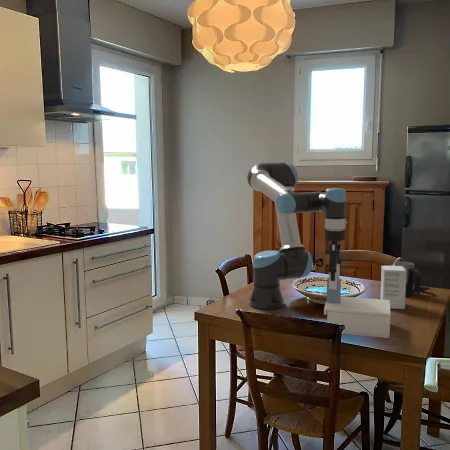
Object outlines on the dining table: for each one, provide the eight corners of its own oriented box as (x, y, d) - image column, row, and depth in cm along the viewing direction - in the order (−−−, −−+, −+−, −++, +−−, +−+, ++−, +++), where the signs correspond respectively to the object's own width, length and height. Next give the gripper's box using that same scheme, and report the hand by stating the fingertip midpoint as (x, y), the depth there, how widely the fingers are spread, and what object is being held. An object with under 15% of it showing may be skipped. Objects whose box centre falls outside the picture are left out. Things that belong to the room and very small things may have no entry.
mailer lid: (324, 314, 175) (324, 284, 173) (328, 301, 190) (328, 273, 188) (390, 320, 167) (391, 289, 166) (389, 306, 183) (390, 277, 181)
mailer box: (327, 331, 175) (327, 311, 174) (331, 317, 190) (331, 298, 189) (389, 338, 169) (390, 316, 167) (388, 322, 184) (389, 303, 182)
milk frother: (388, 294, 221) (390, 263, 219) (404, 287, 232) (405, 258, 230) (418, 300, 211) (420, 268, 209) (433, 293, 222) (434, 262, 220)
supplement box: (405, 309, 199) (407, 270, 197) (382, 308, 201) (383, 270, 199) (401, 302, 208) (403, 265, 206) (379, 301, 210) (381, 264, 208)
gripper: (343, 234, 164) (342, 293, 167) (347, 225, 187) (346, 277, 190) (321, 234, 166) (320, 292, 169) (328, 224, 190) (327, 275, 193)
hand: (334, 284), depth 180 cm, fingers open, 13 cm apart
